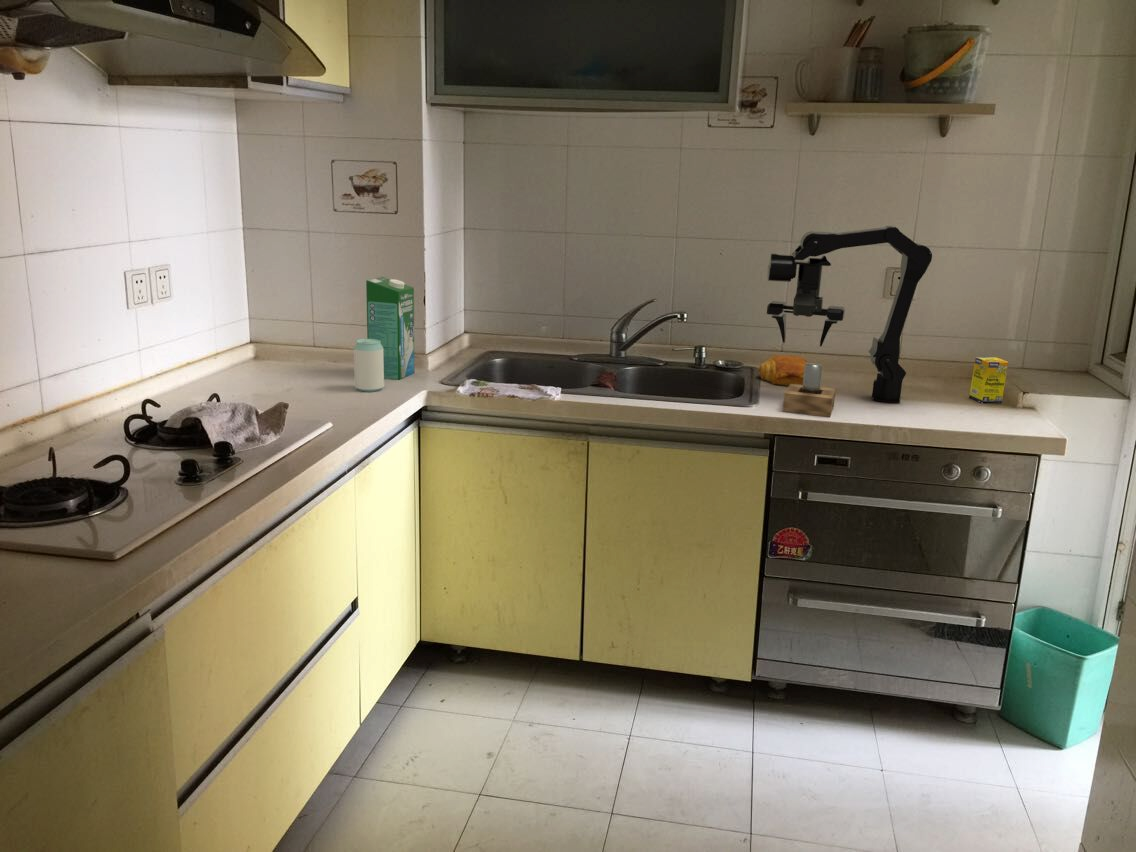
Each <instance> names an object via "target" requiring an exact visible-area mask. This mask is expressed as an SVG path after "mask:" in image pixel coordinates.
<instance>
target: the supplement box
mask: <svg viewBox="0 0 1136 852" xmlns="http://www.w3.org/2000/svg"><path fill="white" fill-rule="evenodd" d="M1009 363H1010V362H1009V361H1007V360H1004V359H1002V358H1000V357H999V358H998V357H986V356H985V357H979V356H976V357H975V360H974V365H973V370H972V377H971V383H970V389H969V395H968V398H969V397H971V398H973V399H972V400H974V399H975V400H974V401H976V400H977V401H976V402H978V401H980V402H998V403H997V404H1001V403H1000V402H1003V396H1004V391H1005V386H1006V379H1007V374H1008V367H1009ZM971 398H970V399H971ZM980 402H979V403H980Z"/></svg>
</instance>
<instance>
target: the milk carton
mask: <svg viewBox="0 0 1136 852" xmlns="http://www.w3.org/2000/svg"><path fill="white" fill-rule="evenodd" d="M365 284H366V285H365V289H366V290H365V291H366V331H367V332H366V333H367V338H366V339H376V340H380V341H381V342H380V343H381V345H382V346H383V357H384V379H388V380H389V379H391V380H397V381H398V380H400V381H401V380H402V379H404V378H407V377H408V376H410V375H413V374H415V287H413V286H410V285H408V284H406V283H405V281H402V280H399V279H397V278H396V279H394V278H388V277H385V276H379V277H375V278H371V279H367V280H366V281H365Z"/></svg>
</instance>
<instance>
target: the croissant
mask: <svg viewBox="0 0 1136 852" xmlns="http://www.w3.org/2000/svg"><path fill="white" fill-rule="evenodd" d="M805 363H809V362H808V360H807V359H806V358H804V357H802V356H796V355H777V354H775V355H773V356H771V357H770V358H767V360H766V361H764V362H763V363H761V364H760V366H759V367H758V373H760V374H759V377H760V376H761V377H760V379H762V380H764V381H766V380H767V382H768V381H769V383H771V384H772V385H777V386H778V385H780V386H785V387H787V386H788V387H789V385H790V384H798V385H803V379H804V369H805Z"/></svg>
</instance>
